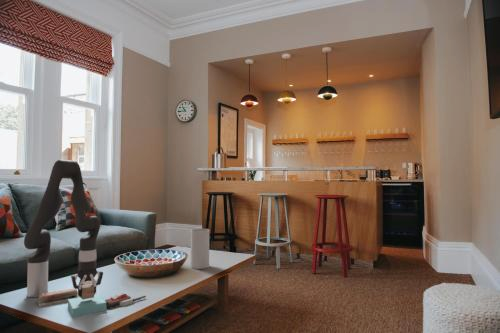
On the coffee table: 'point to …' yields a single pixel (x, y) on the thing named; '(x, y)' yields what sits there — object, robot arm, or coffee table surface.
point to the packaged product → (57, 297)
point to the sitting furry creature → (89, 282)
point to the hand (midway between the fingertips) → (87, 295)
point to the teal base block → (86, 305)
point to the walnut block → (87, 291)
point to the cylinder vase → (199, 248)
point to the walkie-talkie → (120, 300)
